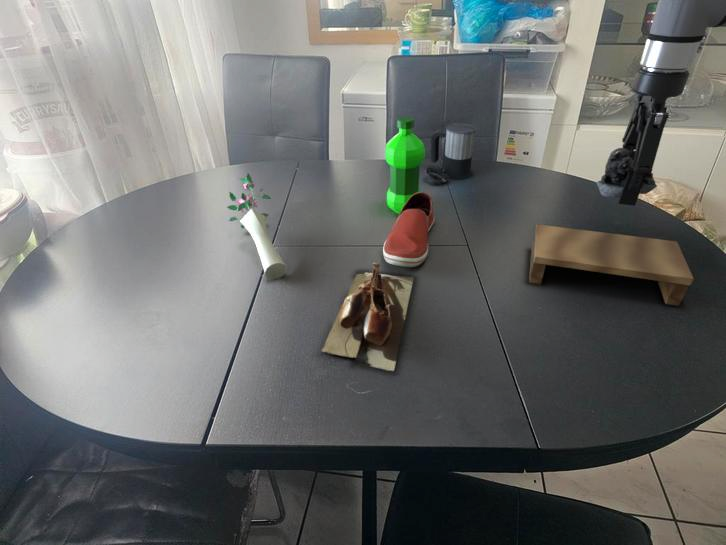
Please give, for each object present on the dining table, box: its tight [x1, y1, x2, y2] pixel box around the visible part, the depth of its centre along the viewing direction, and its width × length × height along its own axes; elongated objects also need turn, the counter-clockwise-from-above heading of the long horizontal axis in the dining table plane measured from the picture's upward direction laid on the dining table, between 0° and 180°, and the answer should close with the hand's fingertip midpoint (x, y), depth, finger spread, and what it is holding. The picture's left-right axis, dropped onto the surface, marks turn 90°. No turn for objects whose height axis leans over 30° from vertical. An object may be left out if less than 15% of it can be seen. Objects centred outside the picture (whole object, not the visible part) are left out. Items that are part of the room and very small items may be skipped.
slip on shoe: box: [382, 191, 435, 268], centre depth 107 cm, size 11×29×9 cm, turn 162°
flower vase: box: [226, 172, 287, 280], centre depth 110 cm, size 12×12×35 cm
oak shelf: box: [528, 224, 695, 307], centre depth 94 cm, size 28×14×7 cm, turn 71°
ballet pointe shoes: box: [321, 262, 414, 372], centre depth 86 cm, size 14×7×28 cm
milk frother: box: [424, 122, 477, 185], centre depth 138 cm, size 14×16×15 cm
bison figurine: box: [596, 147, 658, 199], centre depth 84 cm, size 12×7×10 cm, turn 115°
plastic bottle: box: [384, 116, 426, 215], centre depth 117 cm, size 10×10×25 cm
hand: (623, 192), depth 87 cm, fingers closed on bison figurine, 9 cm apart
